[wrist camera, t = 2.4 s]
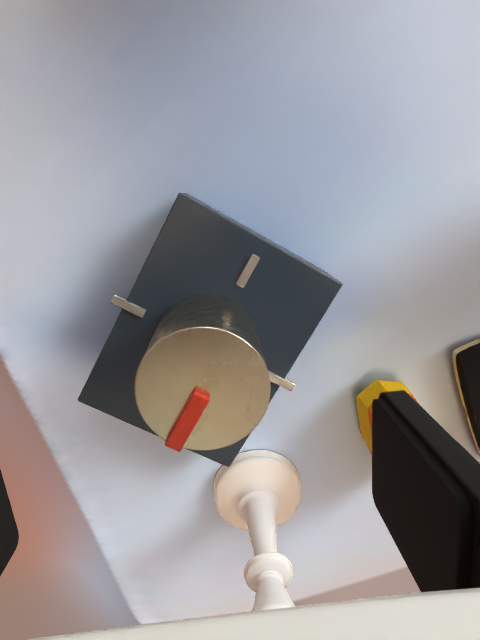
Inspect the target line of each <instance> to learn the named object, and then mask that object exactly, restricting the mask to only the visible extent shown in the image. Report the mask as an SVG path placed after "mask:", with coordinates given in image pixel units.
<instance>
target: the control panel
mask: <svg viewBox="0 0 480 640" xmlns="http://www.w3.org/2000/svg"><path fill="white" fill-rule="evenodd" d="M341 286H342V283H341V282H339V281H338V280H337V279H335V278H334V277H332V276H331V275H329V274H328V273H327V272H325V271H324V270H322V269H320V268H318V267H316V266H315V265H313V264H311V263H309V262H308V261H306V260H304V259H302V258H300V257H299V256H297V255H295V254H293V253H291V252H290V251H288V250H286V249H284V248H283V247H281V246H279V245H277V244H275V243H274V242H272V241H270V240H268V239H267V238H265V237H263V236H261V235H259V234H258V233H256V232H254V231H252V230H251V229H249V228H247V227H245V226H243V225H242V224H240V223H238V222H236V221H235V220H233V219H231V218H229V217H227V216H226V215H224V214H222V213H220V212H219V211H217V210H215V209H213V208H211V207H210V206H208V205H206V204H204V203H203V202H201V201H199V200H197V199H195V198H194V197H192V196H190V195H188V194H186V193H179V194H178V196H177V198H176V200H175V202H174V204H173V206H172V208H171V210H170V212H169V214H168V216H167V218H166V220H165V222H164V224H163V227H162V229H161V231H160V233H159V235H158V237H157V239H156V241H155V243H154V245H153V247H152V249H151V251H150V253H149V255H148V257H147V259H146V261H145V263H144V265H143V267H142V269H141V271H140V273H139V275H138V277H137V280H136V282H135V284H134V286H133V288H132V290H131V292H130V294H129V296H128V298H127V300H126V299H124V298H122V297H120V296H118V295H116V294H115V295H114V296H113V299H112V301H111V303H113V304H115V305H117V306H119V307H121V308H122V310H121V312H120V314H119V316H118V318H117V320H116V322H115V324H114V326H113V328H112V331H111V333H110V335H109V337H108V339H107V341H106V343H105V345H104V347H103V349H102V351H101V353H100V355H99V357H98V359H97V361H96V363H95V365H94V367H93V369H92V371H91V373H90V375H89V377H88V379H87V381H86V384H85V386H84V388H83V390H82V392H81V394H80V396H79V398H78V401H79V402H82V403H84V404H86V405H89V406H91V407H93V408H95V409H98V410H100V411H102V412H104V413H107V414H109V415H111V416H114V417H116V418H118V419H120V420H123V421H125V422H127V423H129V424H132V425H134V426H136V427H139V428H141V429H143V430H145V431H148V432H150V433H152V434H154V435H157V434H156V433H155V432H154V431H152V429H151V428H150V427H149V426H148V425H147V424H146V422H145V421H144V419H143V418H142V416H141V414H140V412H139V410H138V407H137V404H136V399H135V392H134V384H135V377H136V373H137V369H138V367H139V365H140V363H141V360H142V358H143V356H144V354H145V352H146V350H147V348H148V345H149V343H150V341H151V339H152V337H153V335H154V333H155V330H156V328H157V326H158V324H159V322H160V320H161V319H162V317H163V316H164V314H165V313H166V312H167V311H168V310H169V309H170V308H171V307H172V306H173V305H175V304H176V303H178V302H179V301H181V300H183V299H185V298H188V297H191V296H196V295H204V294H207V295H217V296H221V297H224V298H227V299H229V300H231V301H233V302H235V303H236V304H238V305H239V306H240V307H242V308H243V309H244V310H245V311H246V312H247V314H248V315H249V316H250V318H251V319H252V321H253V323H254V325H255V328H256V331H257V334H258V338H259V341H260V345H261V348H262V352H263V355H264V359H265V362H266V366H267V369H268V373H269V378H270V386H271V391H270V399H269V402H270V401H271V399H272V398H273V396H274V394H275V393H276V391H277V389H278V388H279V386H281V387H283V388H285V389H287V390H289V391H292V389H293V387H294V386H295V384H294V383H293V382H291V381H289V380H287V379H285V377H286V375H287V373H288V372H289V370H290V369H291V367H292V365H293V364H294V362H295V360H296V359H297V357H298V356H299V354H300V352H301V351H302V349H303V348H304V346H305V344H306V343H307V341H308V340H309V338H310V336H311V335H312V333H313V331H314V330H315V328H316V327H317V325H318V323H319V322H320V320H321V319H322V317H323V315H324V314H325V312H326V310H327V309H328V307H329V306H330V304H331V302H332V301H333V299H334V298H335V296H336V294H337V293H338V291H339V290H340V288H341ZM250 433H251V432H250ZM250 433H249V434H248V435H247V436H246V437H244V438H243V439H241V440H239V441H238V442H236V443H234V444H232V445H229V446H226V447H223V448H219V449H215V450H191V449H188V450H191V451H193V452H195V453H198V454H200V455H202V456H204V457H207V458H209V459H211V460H213V461H216V462H218V463H220V464H223V465H225V466H227V467H230V465H231V464H232V462H233V460H234V459H235V457H236V456H237V454H238V452H239V451H240V449H241V447H242V446H243V444H244V443H245V441H246V439H247V438H248V436H249V435H250ZM157 436H158V435H157Z"/></svg>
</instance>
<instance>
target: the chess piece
mask: <svg viewBox="0 0 480 640" xmlns="http://www.w3.org/2000/svg"><path fill="white" fill-rule="evenodd" d="M213 494H214V498H215V504H216V507H217V509H218V511H219V513H220V514H221V516H222V517H223V518H224V519H225V520H226V521H227V522H229V523H230V524H231V525H233V526H235V527H237V528H240V529H243V530H248V531H249V534H250V538H251V542H252V546H253V550H254V555H255V556H254V557H253V558H251V559H250V560H249V561H248V563H247V564H246V566H245V569H244V577H245V580H246V582H247V584H248V586H249V587H250V588H251V589H252V590H253V591H255V592H257V593H256V596H255V603H254V607H253V610H252V611H260V610H269V609H278V608H286V607H295V605H294V604H293V602H292V601H291V599H290V597H289V595H288V593H287V591H286V589H285V588H286V587H287V586H288V585H289V583H290V582H291V579H292V573H293V568H292V564H291V562H290V561H289V560H288V559H287V558H286V557H285V556H283V555H282V554H279V553H277V544H276V527H277V526H279V525H281V524H282V523H284V522H285V521H286V520H288V519H289V518H290V517H291V516H292V515H293V513H294V512H295V510H296V509H297V507H298V504H299V502H300V497H301V487H300V478H299V474H298V472H297V470H296V468H295V467H294V465H293V464H292V463H291V462H290V461H289V460H288V459H286V458H285V457H283V456H282V455H280V454H277V453H275V452H271V451H266V450H252V451H247V452H243V453H240V454H238V455H237V456H236V457H235V459H234V460H233V462H232V464H231V465H230V467H227V466H225V465H223V466H222V467H221V468H220V469H219V471H218V473H217V475H216V477H215V480H214V484H213Z"/></svg>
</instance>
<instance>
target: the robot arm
mask: <svg viewBox="0 0 480 640" xmlns="http://www.w3.org/2000/svg"><path fill="white" fill-rule="evenodd" d="M372 493H373V499H374V502H375V505H376V507H377V509H378V511H379V513H380V515H381V517H382V519H383V521H384V523H385V524H386V526H387V528H388V530H389V532H390V534H391V536H392V538H393V540H394V542H395V543H396V545H397V547H398V549H399V551H400V553H401V555H402V557H403V559H404V560H405V562H406V564H407V566H408V568H409V570H410V572H411V573H412V576H413V577H414V579H415V581H416V583H417V585H418V587H419V589H420V591H421V592H418V593H407V594H399V595H390V596H381V597H372V598H364V599H355V600H346V601H338V602H329V603H320V604H312V605H304V606H295V607H286V608H278V609H269V610H260V611H252V612H243V613H235V614H226V615H218V616H209V617H201V618H193V619H185V620H177V621H169V622H160V623H152V624H144V625H136V626H128V627H120V628H112V629H104V630H96V631H88V632H80V633H72V634H64V635H56V636H48V637H40V638H32V639H25V640H480V464H479V463H478V462H477V461H476V460H475V459H474V458H473V457H472V456H471V455H470V454H469V453H468V452H467V451H466V450H465V449H464V448H463V447H462V446H461V445H460V444H459V443H458V442H457V441H455V440H454V439H453V438H452V437H451V436H450V435H449V434H448V433H447V432H446V431H445V430H444V429H443V428H442V427H441V426H440V425H439V424H438V423H437V422H436V421H435V420H434V419H433V418H432V417H431V416H430V415H429V414H428V413H427V412H426V411H425V410H424V409H423V408H422V407H421V406H420V405H419V404H418V403H417V402H416V401H415V400H414V399H413V398H412V397H411V396H410V395H409V394H408V393H407V392H406V391H405V390H399V391H390V392H381V393H380V394H379V398H378V399H373V401H372ZM18 537H19V535H18V529H17V525H16V522H15V519H14V515H13V512H12V508H11V505H10V501H9V498H8V495H7V491H6V488H5V484H4V481H3V477H2V474H1V470H0V576H1V574H2V572H3V570H4V569H5V567H6V565H7V564H8V562H9V560H10V558H11V557H12V555H13V553H14V551H15V550H16V547H17V544H18V539H19V538H18Z"/></svg>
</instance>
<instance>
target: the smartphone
mask: <svg viewBox="0 0 480 640" xmlns="http://www.w3.org/2000/svg"><path fill="white" fill-rule="evenodd" d="M452 360H453V366H454V371H455V377H456V381H457V385H458V389H459V393H460V396H461V400H462V403H463V407H464V410H465V414H466V417H467V420H468V424H469V427H470V430H471V433H472V436H473V439H474V442H475V445H476V447H477V450H478V452H479V455H480V338H479V339H477V340H474V341H472V342H470V343H467V344H465V345H463V346H461V347H459V348H457V349H455V350H454V351H453V353H452Z"/></svg>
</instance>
